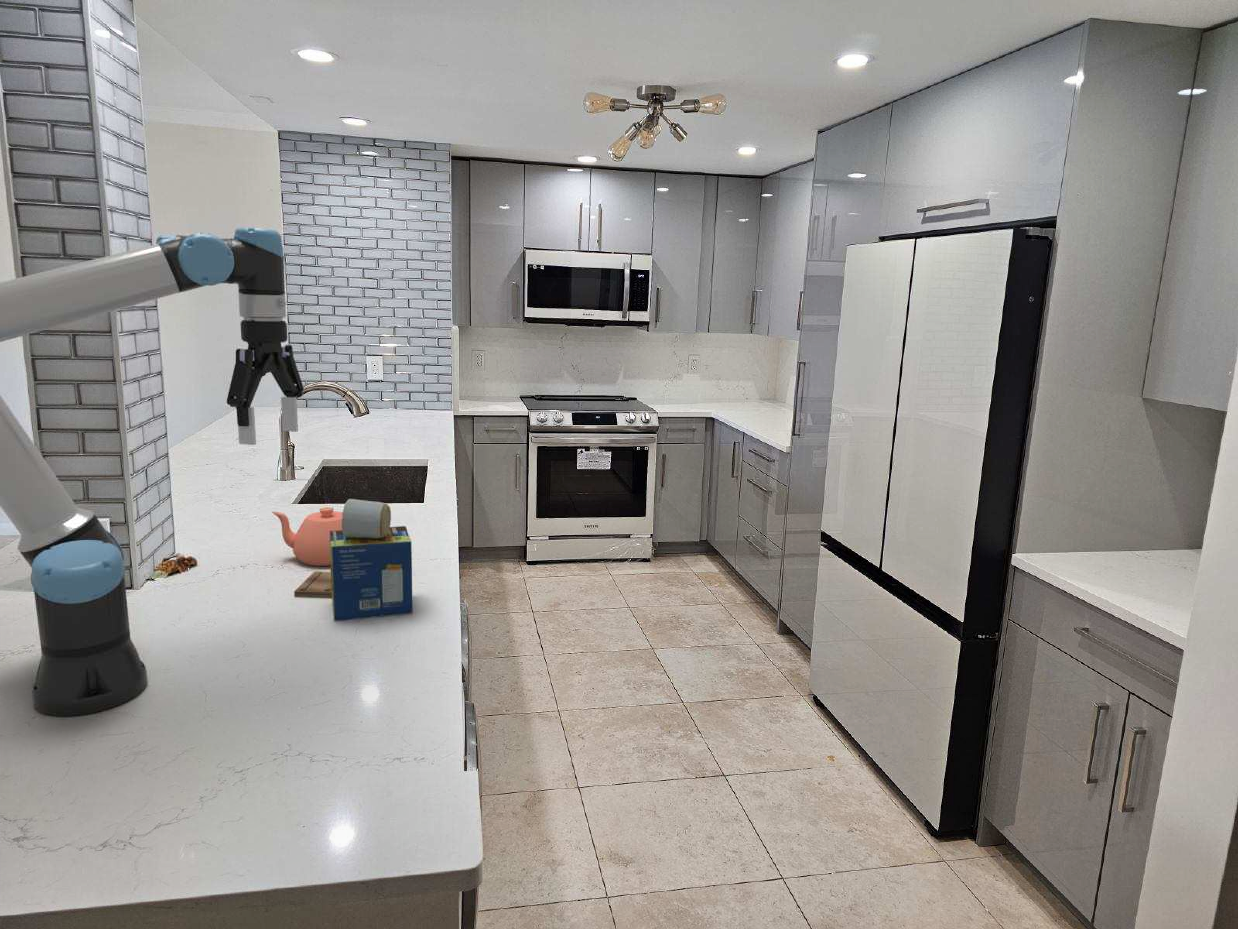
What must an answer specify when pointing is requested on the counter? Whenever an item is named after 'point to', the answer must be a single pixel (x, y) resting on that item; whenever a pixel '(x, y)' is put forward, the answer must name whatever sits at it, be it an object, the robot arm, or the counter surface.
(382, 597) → the protein box
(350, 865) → the counter surface
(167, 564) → the grilled chicken meal
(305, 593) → the walnut board
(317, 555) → the teapot
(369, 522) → the ceramic mug
